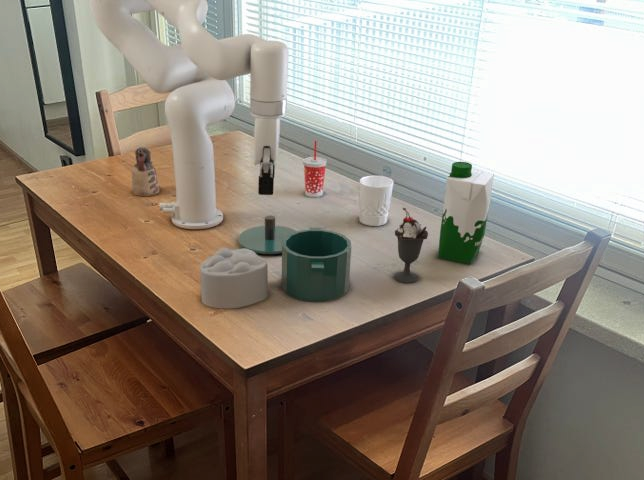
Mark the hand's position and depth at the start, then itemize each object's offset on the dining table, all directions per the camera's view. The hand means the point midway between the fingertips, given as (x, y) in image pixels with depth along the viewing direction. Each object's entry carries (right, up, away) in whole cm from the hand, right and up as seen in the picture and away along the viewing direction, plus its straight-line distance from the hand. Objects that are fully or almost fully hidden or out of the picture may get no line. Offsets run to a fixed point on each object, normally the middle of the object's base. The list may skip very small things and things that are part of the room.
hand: (266, 185), depth 158 cm
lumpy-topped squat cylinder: (-7, -26, -14) cm, 30 cm away
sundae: (+29, -21, -8) cm, 37 cm away
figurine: (-32, +7, +35) cm, 48 cm away
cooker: (+10, -23, -11) cm, 27 cm away
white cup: (+26, -5, +17) cm, 32 cm away
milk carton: (+42, -15, 0) cm, 45 cm away
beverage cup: (+13, +6, +32) cm, 35 cm away
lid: (+1, -11, +7) cm, 13 cm away
